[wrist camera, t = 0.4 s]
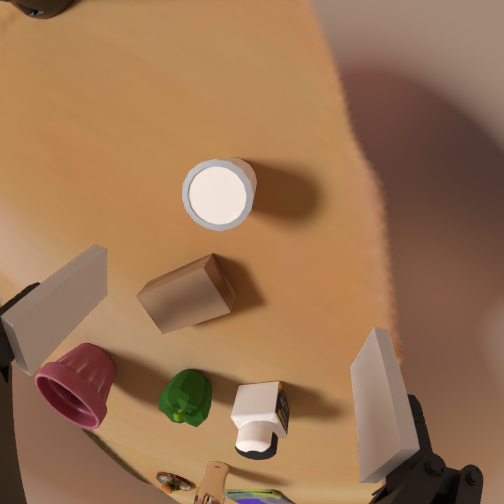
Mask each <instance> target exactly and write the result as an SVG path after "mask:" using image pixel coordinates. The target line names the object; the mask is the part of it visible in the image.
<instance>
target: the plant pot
mask: <svg viewBox="0 0 504 504" xmlns="http://www.w3.org/2000/svg"><path fill="white" fill-rule="evenodd" d="M115 371H116V370H115V365H114V363H113V361H112V360H111V359H110V357H109V356H108V355H107V354H106V353H105V352H104V351H102V350H101V349H100V348H98V347H96V346H94V345H92V344H89V343H83V344H80V345H79V346H77V347H76V348H74V349H73V350H71V351H70V352H68V353H67V354H65V355H64V356H63V357H61V358H60V359H58V360H57V361H56V362H49V363H47V364H45V365H44V367H43V368H42V369H41V370H40V371H39V373H38V374H37V375H36V377H35V383H36V386H37V388H38V390H39V392H40V394H41V395H42V396H43V398H44V399H45V400H46V401H47V402H48V403H49V405H50V406H51V407H53V409H55V410H56V411H57V412H58V413H59V414H61V415H62V416H63V417H65V418H66V419H68V420H69V421H71V422H72V423H74V424H76V425H79V426H81V427H83V428H87V429H96V428H98V427H99V426H100V424H101V423H102V421H103V419H104V417H105V415H106V413H107V407H106V401H107V398H108V395H109V391H110V388H111V385H112V382H113V378H114V375H115Z"/></svg>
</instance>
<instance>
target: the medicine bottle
mask: <svg viewBox="0 0 504 504" xmlns="http://www.w3.org/2000/svg"><path fill="white" fill-rule="evenodd" d="M289 410H290V405H289V402H288V400H287V397H286V395H285V392H284V390H283V388H282V385H281V383H280V381H274V382H266V383H257V384H247V385H239V387H238V391H237V395H236V399H235V403H234V407H233V411H232V414H231V418H232V420H233V421H234V423H235V424H236V426H237V428H238V429H239V432H238V437H237V441H236V445H235V449H236V451H237V452H238V453H239V454H240V455H242V456H244V457H246V458H249V459H254V460H264V459H269V458H271V457H273V456H274V455H275V454H276V450H277V443H278V438H286V437H287V431H288V421H289Z"/></svg>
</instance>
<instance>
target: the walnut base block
mask: <svg viewBox="0 0 504 504" xmlns="http://www.w3.org/2000/svg"><path fill="white" fill-rule="evenodd" d="M136 297H137V298H138V300H139V301H140V303H141V304H142V306H143V307H144V308H145V310H146V311H147V313H148V314H149V316H150V317H151V318H152V320H153V321H154V323H155V324H156V325H157V327H158V328H159V329H160V331H161V332H162V334H165V333H168V332H172V331H175V330H178V329H181V328H184V327H188V326H191V325H194V324H197V323H200V322H203V321H206V320H209V319H213V318H216V317H219V316H222V315H225V314H228V313H231V311H232V308H233V305H234V303H235V300H236V297H237V294H236V292H235V290H234V289H233V287H232V285H231V284H230V282H229V280H228V279H227V277H226V275H225V273H224V272H223V270H222V268H221V267H220V265H219V263H218V262H217V260H216V258H215V256H214V255H213V253H212V254H210V255H208V256H205V257H203V258H201V259H199V260H196V261H194V262H192V263H189V264H187V265H185V266H183V267H180V268H178V269H176V270H174V271H171V272H169V273H167V274H165V275H162V276H160V277H158V278H156V279H154V280H151V281H149V282H148V283H147V284H146V285H145V286H144V288H143V289H142V290H141V291H140V292H139V293H138V295H137V296H136Z"/></svg>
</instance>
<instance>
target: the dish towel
mask: <svg viewBox="0 0 504 504" xmlns="http://www.w3.org/2000/svg"><path fill="white" fill-rule="evenodd" d="M226 491H227V492H229V493H226V496H227V497H229V498H230V499H232V500H233V501H236V502H237V503H239V504H294V503H293V502H292V501H290V500H289V499H287V498H286V497H284V496H283V495H281V494H280V493H278V492H275V491H273V490H226Z"/></svg>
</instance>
